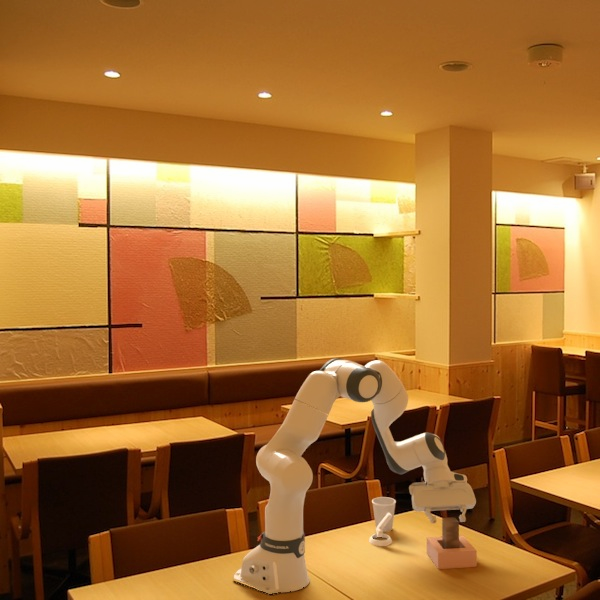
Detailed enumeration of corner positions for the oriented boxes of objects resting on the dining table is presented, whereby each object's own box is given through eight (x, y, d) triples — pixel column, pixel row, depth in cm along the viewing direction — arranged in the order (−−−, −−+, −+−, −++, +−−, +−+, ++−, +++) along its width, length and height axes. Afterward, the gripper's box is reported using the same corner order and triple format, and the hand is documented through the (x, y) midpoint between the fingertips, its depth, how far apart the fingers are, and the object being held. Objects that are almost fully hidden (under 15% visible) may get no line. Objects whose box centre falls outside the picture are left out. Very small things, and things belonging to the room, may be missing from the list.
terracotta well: (438, 569, 211) (437, 552, 211) (426, 553, 223) (426, 537, 223) (476, 566, 213) (476, 550, 212) (463, 550, 225) (463, 535, 224)
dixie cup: (372, 524, 249) (371, 496, 248) (395, 524, 248) (395, 496, 248) (372, 533, 241) (371, 504, 240) (396, 533, 240) (396, 505, 239)
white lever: (408, 530, 229) (391, 520, 227) (386, 558, 231) (369, 548, 229) (402, 517, 236) (386, 508, 234) (381, 544, 238) (365, 535, 236)
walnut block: (446, 560, 216) (446, 522, 215) (442, 555, 220) (442, 517, 219) (459, 560, 216) (458, 521, 216) (454, 554, 220) (454, 517, 220)
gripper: (409, 478, 226) (417, 519, 216) (471, 475, 228) (482, 515, 219) (406, 487, 230) (414, 528, 221) (466, 484, 232) (477, 524, 223)
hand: (448, 521), depth 220 cm, fingers open, 8 cm apart
